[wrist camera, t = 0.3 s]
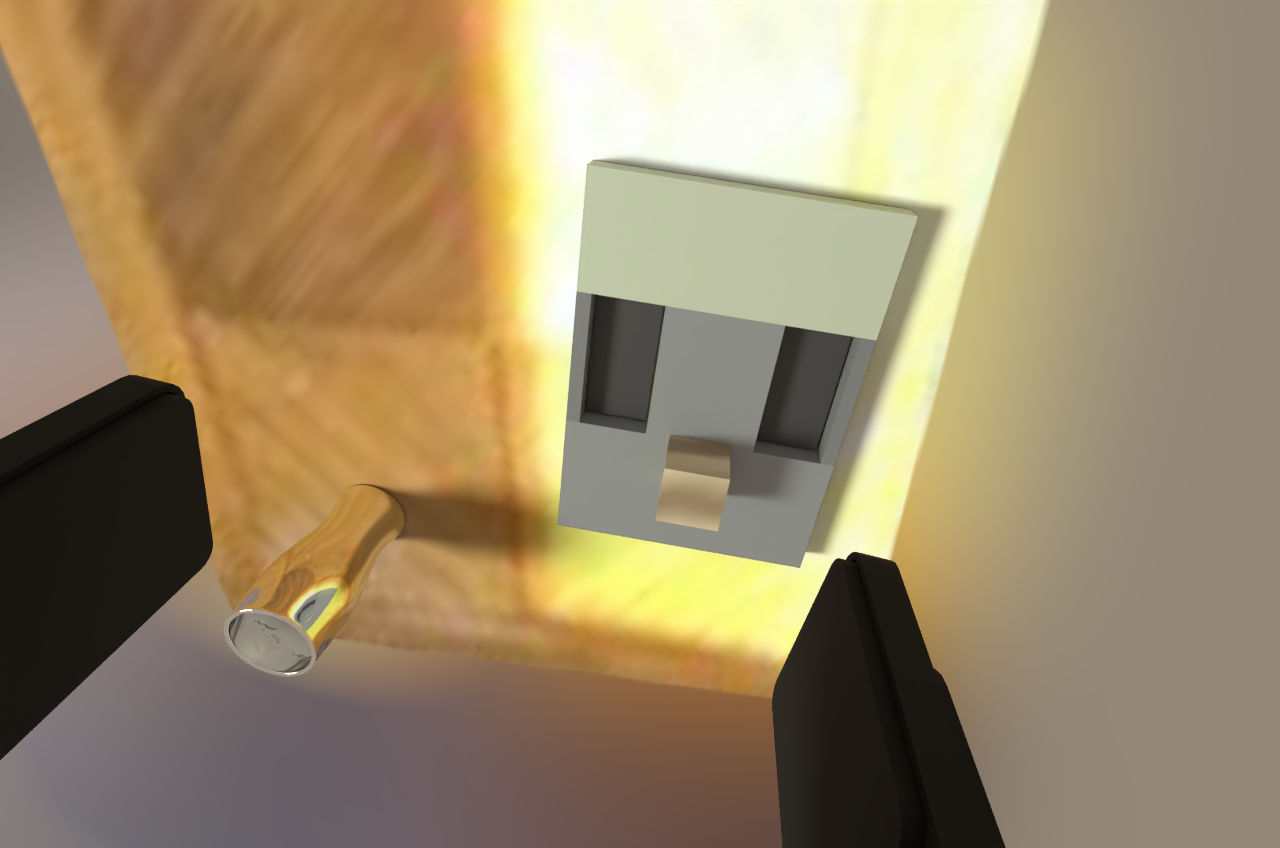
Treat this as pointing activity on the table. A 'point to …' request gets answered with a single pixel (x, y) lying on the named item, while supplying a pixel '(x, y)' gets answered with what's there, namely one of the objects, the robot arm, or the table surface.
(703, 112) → the table surface
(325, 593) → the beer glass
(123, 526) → the robot arm
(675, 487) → the maple cube
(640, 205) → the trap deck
